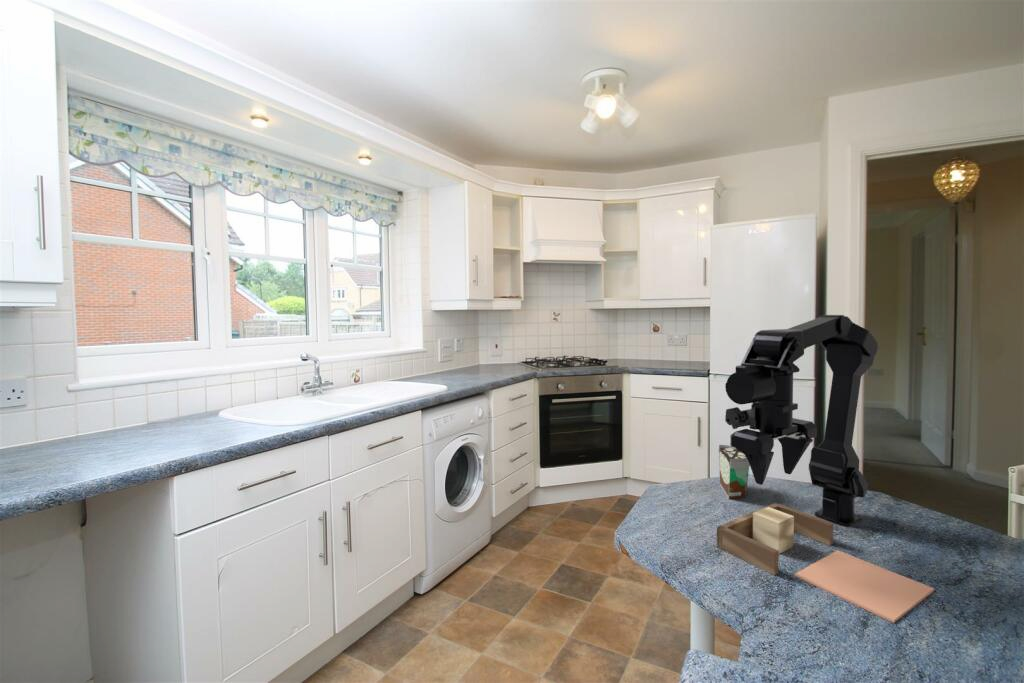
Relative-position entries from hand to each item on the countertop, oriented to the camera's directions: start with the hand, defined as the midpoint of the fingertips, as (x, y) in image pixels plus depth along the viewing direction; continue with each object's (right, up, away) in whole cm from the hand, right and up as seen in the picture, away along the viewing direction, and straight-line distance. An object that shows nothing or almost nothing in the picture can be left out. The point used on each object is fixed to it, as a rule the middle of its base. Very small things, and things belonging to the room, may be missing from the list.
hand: (773, 478), depth 90 cm
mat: (+8, -14, -12) cm, 20 cm away
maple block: (0, -13, +1) cm, 13 cm away
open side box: (0, -13, +1) cm, 13 cm away
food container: (+5, -11, +26) cm, 29 cm away
